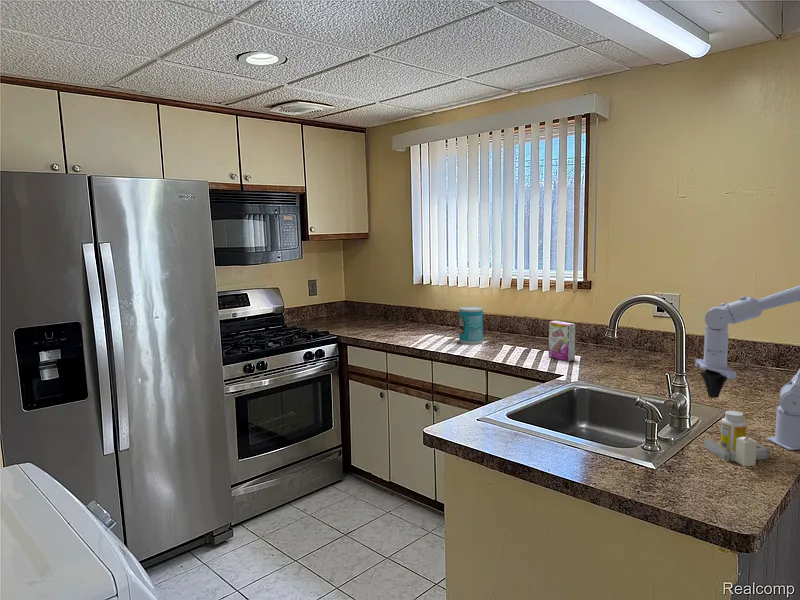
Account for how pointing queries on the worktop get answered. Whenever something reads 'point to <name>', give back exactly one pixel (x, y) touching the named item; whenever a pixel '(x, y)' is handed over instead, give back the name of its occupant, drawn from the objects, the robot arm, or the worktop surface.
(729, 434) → the supplement bottle
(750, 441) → the block
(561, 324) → the candy bar box
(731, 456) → the scale bay
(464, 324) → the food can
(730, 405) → the worktop surface
